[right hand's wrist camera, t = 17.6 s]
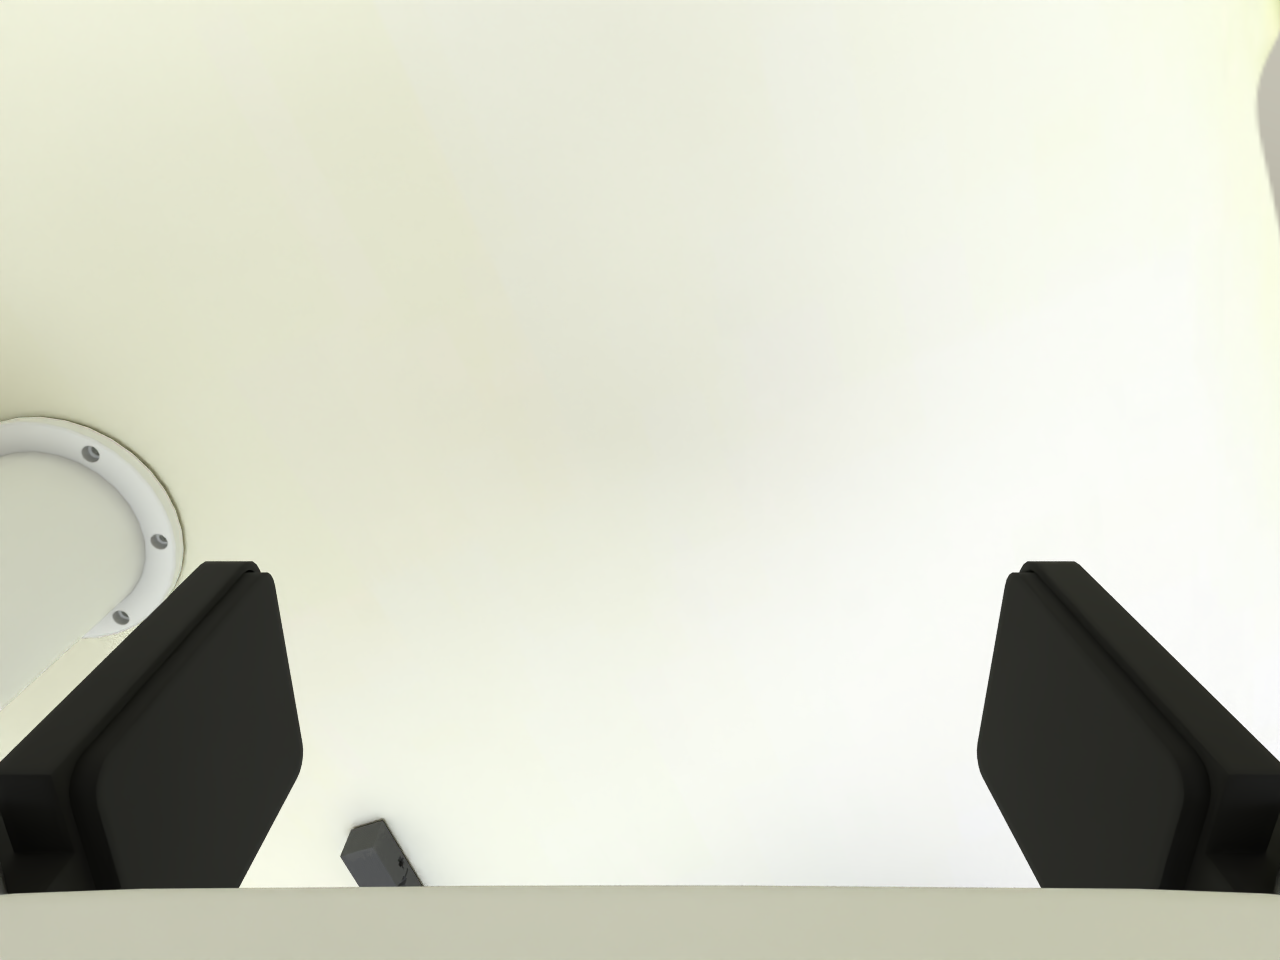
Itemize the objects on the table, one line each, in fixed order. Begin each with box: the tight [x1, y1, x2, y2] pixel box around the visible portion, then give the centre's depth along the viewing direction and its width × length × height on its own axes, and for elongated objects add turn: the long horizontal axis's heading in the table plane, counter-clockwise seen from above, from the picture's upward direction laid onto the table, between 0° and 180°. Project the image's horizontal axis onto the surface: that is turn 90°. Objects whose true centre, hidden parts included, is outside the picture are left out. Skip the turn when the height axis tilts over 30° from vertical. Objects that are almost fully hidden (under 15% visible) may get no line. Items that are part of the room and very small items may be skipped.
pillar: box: [340, 820, 422, 887], centre depth 57 cm, size 2×2×20 cm
